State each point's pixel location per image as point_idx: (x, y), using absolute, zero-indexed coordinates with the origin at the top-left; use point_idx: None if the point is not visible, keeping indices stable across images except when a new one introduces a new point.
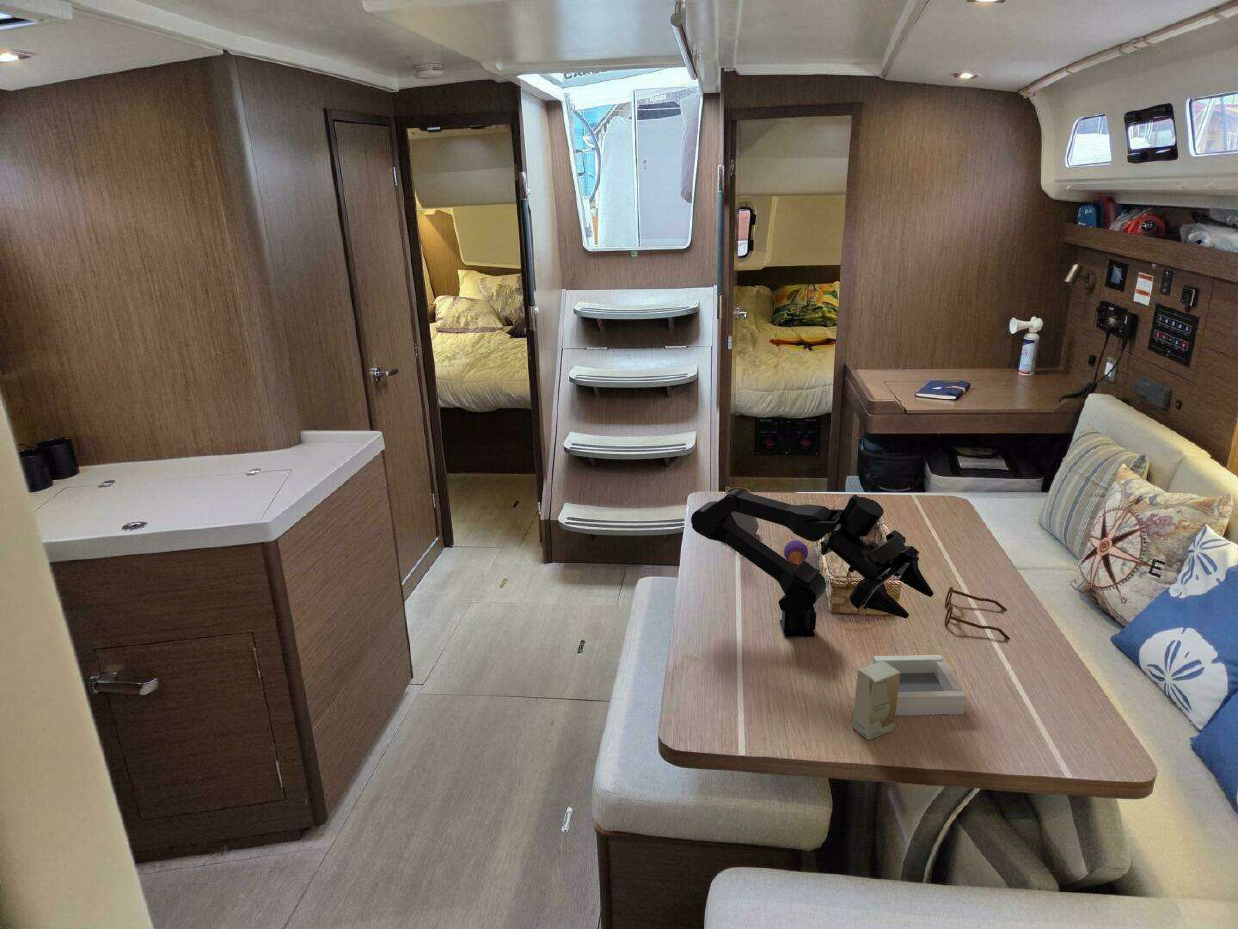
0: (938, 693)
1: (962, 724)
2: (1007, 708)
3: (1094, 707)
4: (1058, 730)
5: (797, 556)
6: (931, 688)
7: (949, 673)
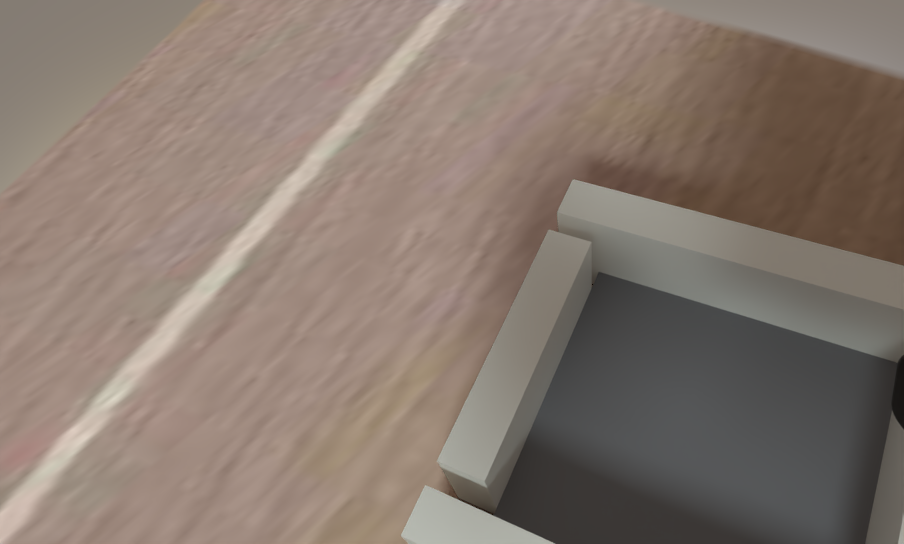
0: (704, 235)
1: None
2: (370, 215)
3: (104, 129)
4: (325, 83)
5: None
6: (610, 413)
7: (505, 351)
